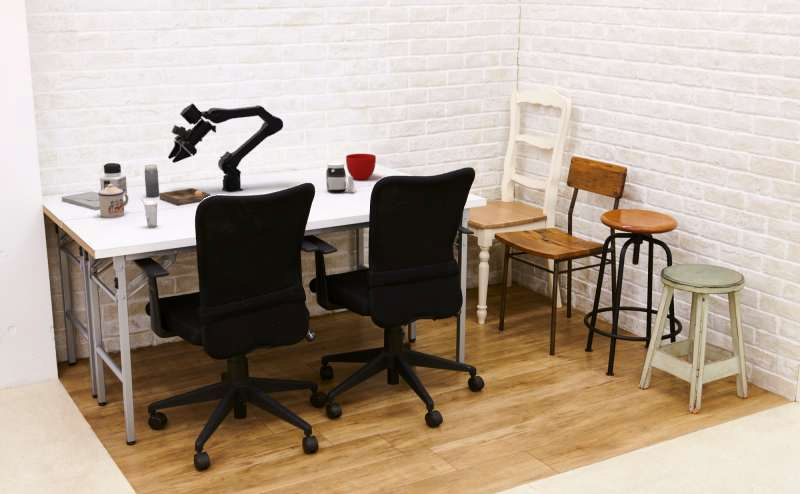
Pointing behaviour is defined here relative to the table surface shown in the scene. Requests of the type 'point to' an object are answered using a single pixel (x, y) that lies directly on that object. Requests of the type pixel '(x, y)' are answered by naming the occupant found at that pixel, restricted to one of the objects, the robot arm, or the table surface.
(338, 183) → the spread jar
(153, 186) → the cylinder
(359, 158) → the ceramic cup
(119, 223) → the table surface
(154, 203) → the milkshake
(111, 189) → the teacup with lid
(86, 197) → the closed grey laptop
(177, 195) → the tray
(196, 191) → the ball
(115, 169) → the container
